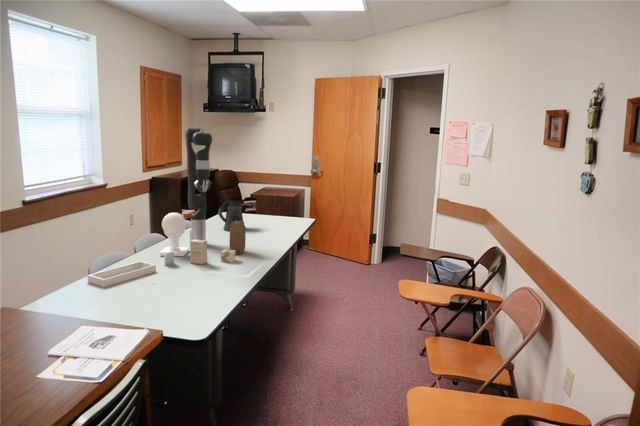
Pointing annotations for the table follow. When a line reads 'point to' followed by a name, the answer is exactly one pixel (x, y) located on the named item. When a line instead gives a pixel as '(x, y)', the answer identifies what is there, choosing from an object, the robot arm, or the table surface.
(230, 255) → the light wooden cube
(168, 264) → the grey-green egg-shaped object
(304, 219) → the table surface
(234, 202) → the beer stein
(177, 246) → the trophy
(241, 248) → the block
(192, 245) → the supplement box
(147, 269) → the tray
